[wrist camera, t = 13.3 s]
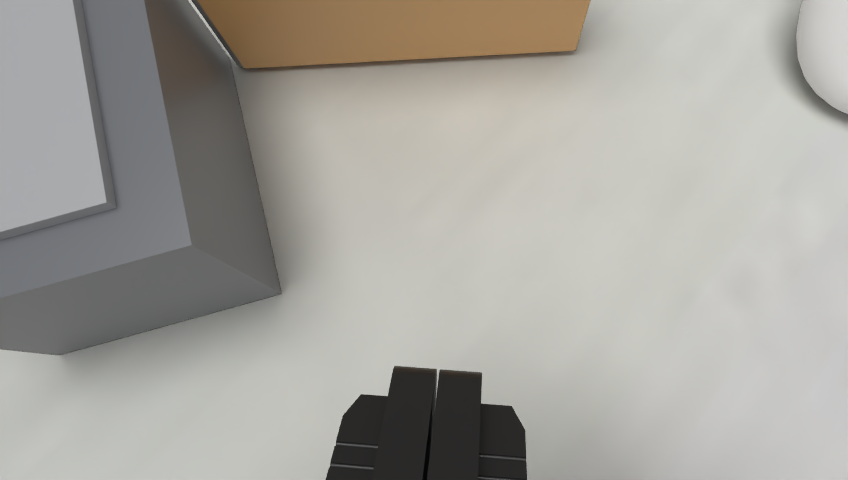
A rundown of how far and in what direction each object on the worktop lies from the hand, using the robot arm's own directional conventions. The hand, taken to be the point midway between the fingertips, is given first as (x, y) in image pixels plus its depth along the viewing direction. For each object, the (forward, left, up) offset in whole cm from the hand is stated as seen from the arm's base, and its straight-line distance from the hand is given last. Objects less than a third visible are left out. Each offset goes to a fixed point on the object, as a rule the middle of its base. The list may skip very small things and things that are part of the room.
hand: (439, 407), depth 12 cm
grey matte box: (-11, +12, -17) cm, 24 cm away
